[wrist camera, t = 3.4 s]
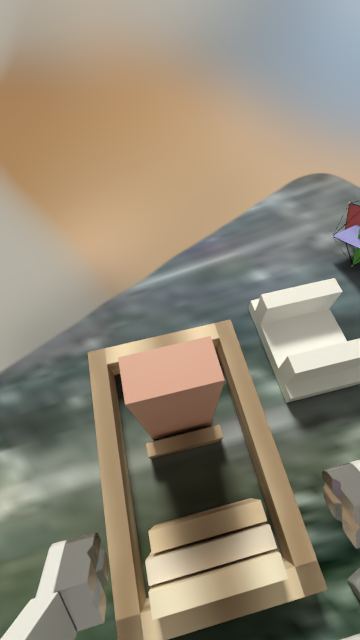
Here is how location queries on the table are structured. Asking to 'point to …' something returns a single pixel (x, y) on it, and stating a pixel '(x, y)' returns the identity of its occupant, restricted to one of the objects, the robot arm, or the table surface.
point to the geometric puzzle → (351, 231)
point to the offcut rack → (199, 516)
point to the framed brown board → (355, 582)
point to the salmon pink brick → (173, 386)
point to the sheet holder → (306, 340)
